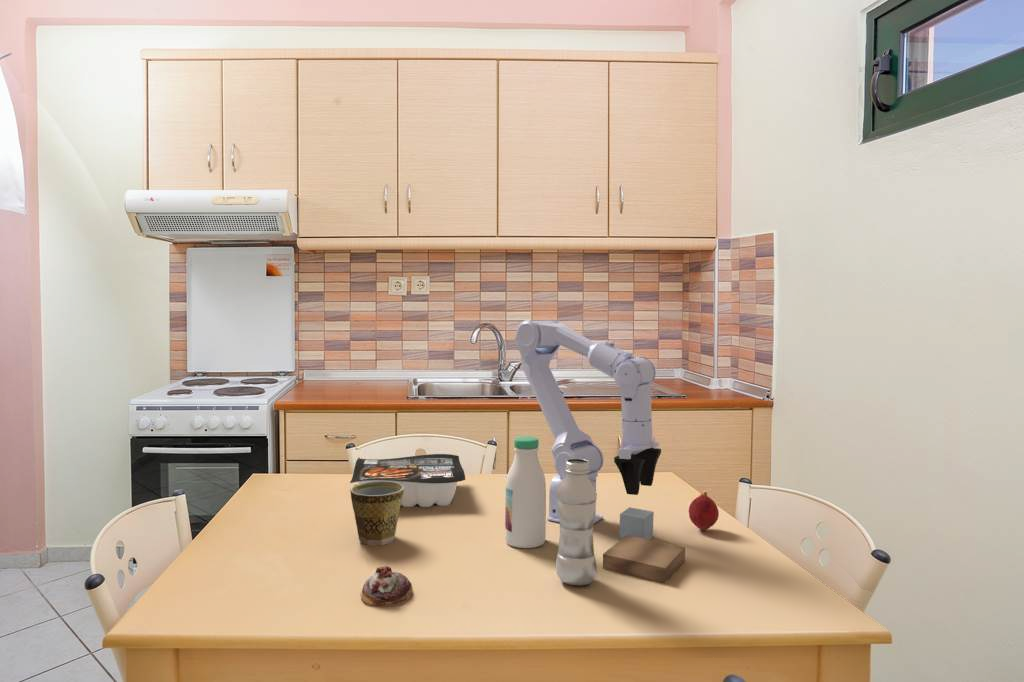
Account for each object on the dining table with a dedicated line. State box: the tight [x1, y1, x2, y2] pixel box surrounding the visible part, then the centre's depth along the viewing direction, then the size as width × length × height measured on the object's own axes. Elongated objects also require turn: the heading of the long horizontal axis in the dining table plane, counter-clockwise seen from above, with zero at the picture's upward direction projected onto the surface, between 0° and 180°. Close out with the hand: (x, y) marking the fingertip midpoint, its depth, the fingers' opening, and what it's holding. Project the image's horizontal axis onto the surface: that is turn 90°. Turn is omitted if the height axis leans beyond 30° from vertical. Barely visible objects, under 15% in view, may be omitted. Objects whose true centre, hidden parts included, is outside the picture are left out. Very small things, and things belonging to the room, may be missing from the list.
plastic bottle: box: [555, 459, 598, 586], centre depth 105 cm, size 6×7×20 cm
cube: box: [619, 507, 655, 540], centre depth 127 cm, size 5×5×5 cm
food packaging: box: [349, 453, 466, 508], centre depth 153 cm, size 25×8×23 cm
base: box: [602, 535, 686, 584], centre depth 113 cm, size 11×11×2 cm
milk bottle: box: [504, 436, 547, 549], centre depth 123 cm, size 8×8×20 cm
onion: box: [688, 490, 720, 532], centre depth 131 cm, size 6×6×8 cm
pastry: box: [360, 565, 413, 607], centre depth 100 cm, size 8×8×5 cm
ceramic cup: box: [349, 481, 404, 546], centre depth 125 cm, size 13×10×10 cm
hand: (639, 489), depth 126 cm, fingers open, 7 cm apart
